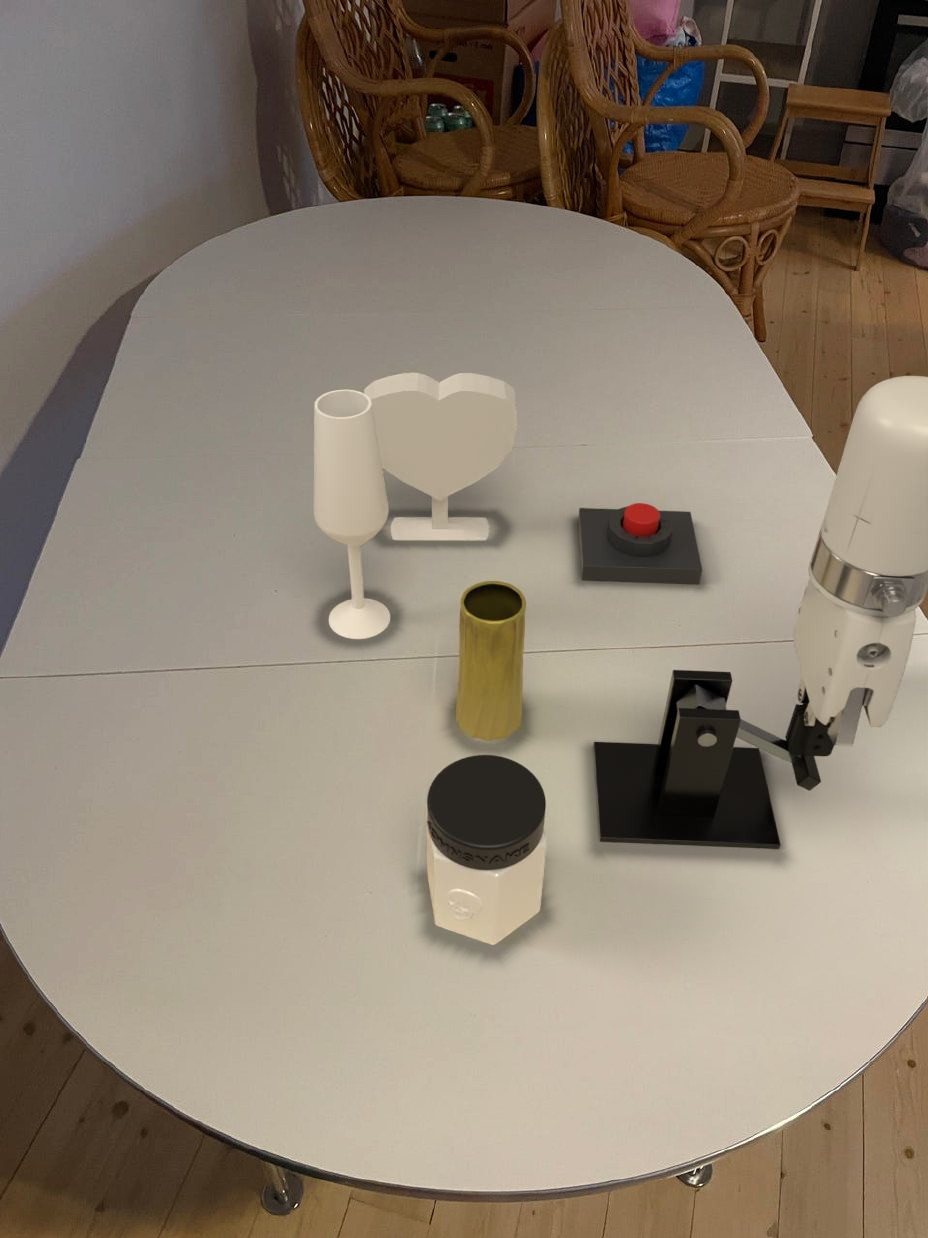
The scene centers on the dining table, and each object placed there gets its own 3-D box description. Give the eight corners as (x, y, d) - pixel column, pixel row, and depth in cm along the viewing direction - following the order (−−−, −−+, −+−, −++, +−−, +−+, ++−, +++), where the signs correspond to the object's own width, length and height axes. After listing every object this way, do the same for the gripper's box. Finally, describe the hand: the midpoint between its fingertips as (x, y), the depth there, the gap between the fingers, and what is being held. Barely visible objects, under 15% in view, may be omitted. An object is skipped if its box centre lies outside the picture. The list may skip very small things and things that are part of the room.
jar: (406, 925, 77) (401, 825, 69) (447, 840, 83) (447, 739, 75) (521, 965, 75) (530, 866, 67) (555, 875, 80) (566, 774, 72)
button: (656, 516, 109) (658, 503, 108) (659, 537, 107) (661, 524, 106) (621, 515, 109) (623, 502, 108) (624, 536, 107) (626, 522, 106)
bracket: (755, 759, 89) (788, 651, 81) (776, 856, 82) (815, 748, 73) (592, 752, 90) (607, 644, 81) (598, 849, 82) (615, 741, 74)
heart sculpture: (510, 516, 115) (517, 369, 103) (512, 544, 111) (520, 395, 99) (369, 516, 115) (360, 368, 103) (367, 544, 111) (357, 394, 99)
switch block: (687, 527, 114) (693, 497, 111) (698, 586, 107) (705, 555, 104) (577, 523, 114) (580, 493, 112) (581, 582, 107) (584, 551, 104)
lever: (792, 746, 84) (813, 729, 83) (804, 795, 81) (826, 778, 79) (673, 689, 81) (693, 670, 79) (681, 737, 77) (701, 719, 76)
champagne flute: (388, 593, 105) (377, 380, 89) (399, 638, 100) (389, 420, 84) (321, 602, 104) (298, 387, 88) (329, 647, 99) (306, 429, 83)
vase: (439, 721, 92) (439, 598, 83) (490, 688, 95) (494, 566, 86) (487, 760, 89) (491, 638, 79) (537, 725, 92) (548, 603, 83)
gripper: (965, 642, 63) (880, 829, 75) (899, 499, 74) (834, 681, 86) (840, 637, 63) (775, 824, 75) (792, 495, 74) (743, 678, 86)
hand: (807, 747), depth 81 cm, fingers closed
